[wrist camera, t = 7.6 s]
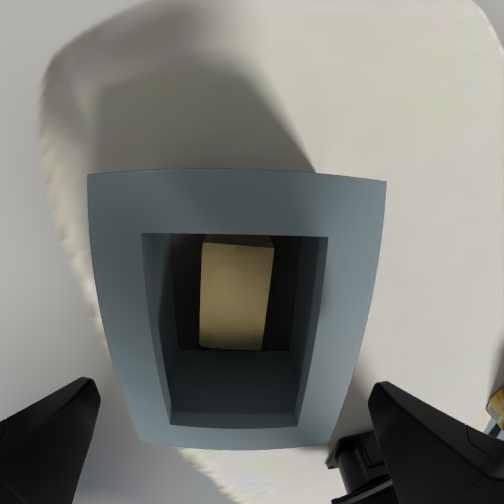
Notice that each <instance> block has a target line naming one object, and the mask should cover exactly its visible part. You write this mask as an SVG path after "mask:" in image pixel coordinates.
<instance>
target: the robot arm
mask: <svg viewBox="0 0 504 504" xmlns="http://www.w3.org/2000/svg"><path fill="white" fill-rule="evenodd" d="M100 403H101V398H100V395H99V392H98V389H97V387H96V384H95V382H94V380H93V379H91V378H87V377H80V378H78V379H77V380H75V381H73V382H72V383H70V384H68V385H66V386H64V387H63V388H61V389H59V390H57V391H55V392H54V393H52V394H50V395H48V396H46V397H45V398H43V399H41V400H40V401H38V402H36V403H34V404H32V405H30V406H28V407H27V408H25V409H23V410H21V411H19V412H17V413H16V414H14V415H12V416H10V417H8V418H7V419H4V420H2V421H1V422H0V504H72V502H73V498H74V494H75V491H76V487H77V484H78V481H79V477H80V474H81V471H82V468H83V464H84V461H85V458H86V455H87V452H88V449H89V446H90V443H91V440H92V436H93V432H94V428H95V423H96V419H97V415H98V411H99V407H100ZM368 408H369V411H370V415H371V419H372V423H373V427H374V432H370V433H365V434H361V435H356V436H351V437H346V438H342V439H340V440H339V441H338V444H337V446H336V448H335V450H334V452H333V455H332V457H331V459H330V461H329V463H328V465H327V467H328V469H334V468H339V470H340V473H341V476H342V479H343V482H344V485H345V489H346V492H347V495H345V496H342V497H340V498H335V499H332V500H331V502H332V504H504V441H503V440H500V439H497V438H495V437H492V436H490V435H487V434H485V433H483V432H480V431H478V430H476V429H474V428H472V427H470V426H468V425H465V424H464V423H462V422H460V421H458V420H457V419H455V418H453V417H451V416H449V415H447V414H445V413H443V412H442V411H440V410H438V409H436V408H434V407H432V406H430V405H429V404H427V403H425V402H423V401H421V400H420V399H418V398H416V397H414V396H412V395H411V394H409V393H407V392H405V391H404V390H402V389H400V388H398V387H397V386H395V385H393V384H391V383H390V382H388V381H383V382H378V383H376V384H375V385H374V387H373V389H372V392H371V395H370V397H369V400H368Z"/></svg>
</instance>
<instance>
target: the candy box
mask: <svg viewBox="0 0 504 504" xmlns="http://www.w3.org/2000/svg"><path fill="white" fill-rule="evenodd" d="M486 411H487V412H488V414H489V415H490V416H491V417H492V418H493V419H494V420H495V421H496V423H497V424H498V425H499V426H500V428H501V429H502V430H503V431H504V386H503V387H502V388H501V389H500V390H499V391H498V392H497V393H496V394H495V395H494V396H493V397H492V398H491V399H490V401H489V403H488V406H487V409H486Z"/></svg>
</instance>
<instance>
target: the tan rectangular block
mask: <svg viewBox="0 0 504 504" xmlns="http://www.w3.org/2000/svg"><path fill="white" fill-rule="evenodd" d="M273 256H274V247H273V245H272V243H271V241H270V239H269V237H268V236H267V235H245V234H207V235H206V237H205V239H204V241H203V246H202V265H201V291H200V336H199V346H201V347H212V348H224V349H239V350H259V351H261V347H262V340H263V333H264V326H265V318H266V311H267V303H268V296H269V288H270V280H271V272H272V264H273Z"/></svg>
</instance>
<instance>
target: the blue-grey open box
mask: <svg viewBox="0 0 504 504" xmlns="http://www.w3.org/2000/svg"><path fill="white" fill-rule="evenodd" d="M386 182H387V181H380V180H373V179H366V178H358V177H350V176H341V175H331V174H320V173H309V172H296V171H280V170H261V169H227V168H186V169H153V170H134V171H119V172H107V173H96V174H88V177H87V186H88V218H89V233H90V245H91V254H92V263H93V271H94V278H95V285H96V291H97V297H98V302H99V308H100V313H101V318H102V323H103V327H104V332H105V336H106V340H107V344H108V348H109V352H110V356H111V360H112V363H113V367H114V370H115V374H116V377H117V380H118V383H119V386H120V389H121V392H122V396H123V398H124V401H125V404H126V407H127V410H128V412H129V415H130V417H131V420H132V423H133V425H134V428H135V430H136V433H137V435H138V438H139V440H140V441H142V442H147V443H154V444H160V445H168V446H176V447H185V448H196V449H212V450H269V449H284V448H296V447H305V446H313V445H320V444H327V443H329V441H330V438H331V436H332V433H333V431H334V428H335V425H336V423H337V420H338V417H339V415H340V412H341V409H342V406H343V403H344V400H345V397H346V394H347V391H348V388H349V385H350V382H351V379H352V375H353V372H354V369H355V365H356V362H357V358H358V354H359V351H360V347H361V343H362V339H363V335H364V331H365V327H366V323H367V318H368V314H369V309H370V304H371V299H372V294H373V289H374V284H375V278H376V272H377V266H378V259H379V253H380V245H381V238H382V229H383V220H384V210H385V197H386ZM170 233H190V234H245V235H283V236H301V239H300V252H299V264H298V275H297V286H296V296H295V306H294V315H293V324H292V333H291V341H290V349H289V351H275V352H226V351H198V350H181V349H178V342H177V332H176V322H175V311H174V299H173V286H172V269H171V247H170Z"/></svg>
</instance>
